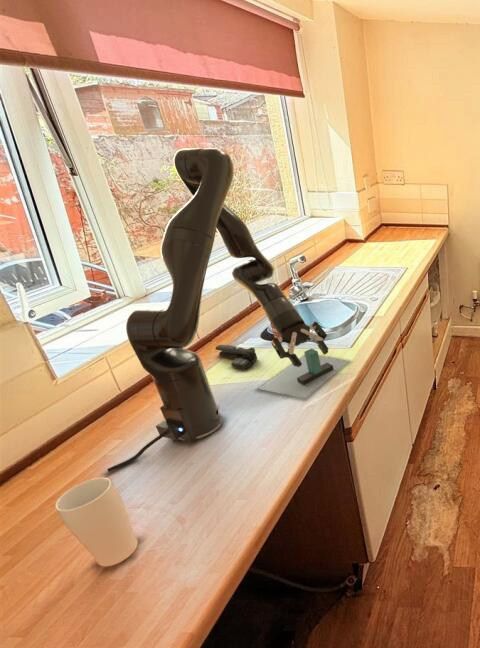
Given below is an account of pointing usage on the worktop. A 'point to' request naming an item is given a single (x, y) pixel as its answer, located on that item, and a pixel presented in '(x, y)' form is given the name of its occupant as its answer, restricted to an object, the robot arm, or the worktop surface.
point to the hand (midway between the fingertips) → (313, 359)
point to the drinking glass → (98, 520)
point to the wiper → (314, 367)
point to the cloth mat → (288, 377)
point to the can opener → (238, 355)
